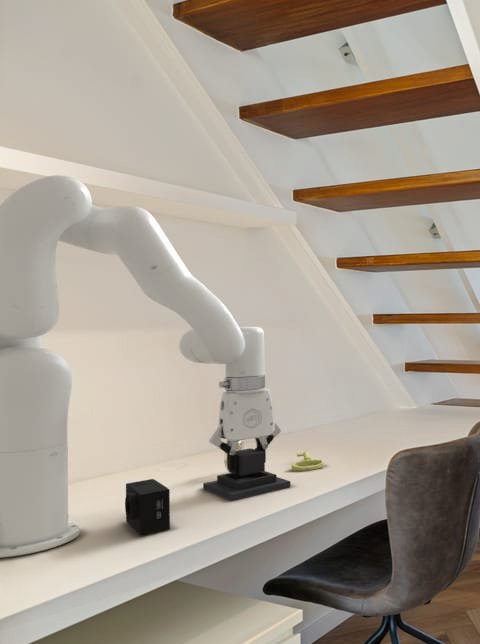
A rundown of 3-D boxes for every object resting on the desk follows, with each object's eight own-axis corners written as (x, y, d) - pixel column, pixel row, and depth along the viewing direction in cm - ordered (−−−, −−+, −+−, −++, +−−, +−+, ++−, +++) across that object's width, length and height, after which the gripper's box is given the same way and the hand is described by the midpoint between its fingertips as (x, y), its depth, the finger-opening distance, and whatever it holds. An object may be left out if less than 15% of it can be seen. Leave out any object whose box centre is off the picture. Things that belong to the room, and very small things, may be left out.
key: (307, 458, 151) (306, 450, 151) (327, 467, 142) (327, 458, 142) (278, 464, 146) (278, 455, 146) (297, 473, 137) (297, 464, 137)
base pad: (231, 500, 116) (231, 487, 116) (203, 488, 125) (203, 476, 125) (290, 486, 125) (290, 474, 125) (259, 476, 134) (259, 464, 134)
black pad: (242, 475, 122) (242, 456, 122) (229, 470, 126) (228, 452, 126) (264, 470, 125) (264, 452, 125) (250, 466, 129) (250, 448, 129)
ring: (238, 469, 142) (237, 435, 142) (250, 469, 141) (250, 435, 141) (219, 477, 135) (218, 441, 135) (232, 477, 134) (231, 442, 134)
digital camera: (117, 524, 104) (117, 484, 104) (153, 516, 108) (153, 477, 108) (131, 538, 96) (131, 495, 96) (169, 529, 100) (169, 488, 100)
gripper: (210, 389, 117) (211, 482, 116) (292, 381, 130) (293, 464, 130) (195, 387, 121) (196, 476, 121) (276, 379, 135) (277, 459, 134)
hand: (246, 469), depth 125 cm, fingers closed on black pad, 4 cm apart
